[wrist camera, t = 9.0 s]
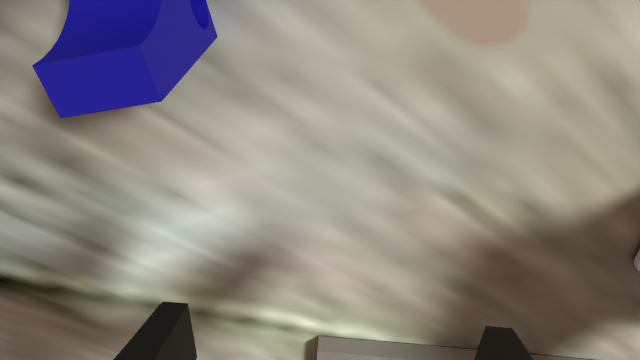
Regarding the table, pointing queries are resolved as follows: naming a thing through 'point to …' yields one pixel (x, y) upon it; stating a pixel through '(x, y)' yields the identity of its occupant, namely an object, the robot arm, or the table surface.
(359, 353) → the stepped base plate
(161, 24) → the cable clip
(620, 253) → the table surface
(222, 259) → the table surface
